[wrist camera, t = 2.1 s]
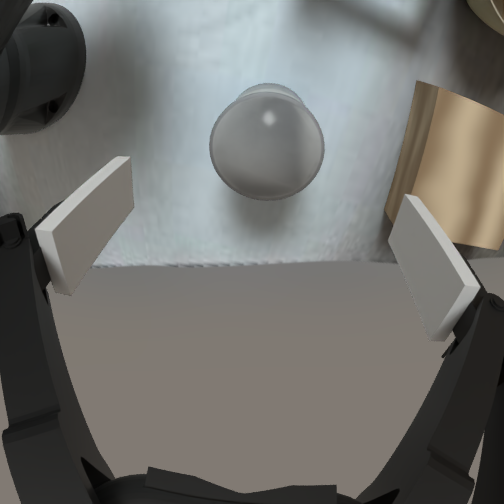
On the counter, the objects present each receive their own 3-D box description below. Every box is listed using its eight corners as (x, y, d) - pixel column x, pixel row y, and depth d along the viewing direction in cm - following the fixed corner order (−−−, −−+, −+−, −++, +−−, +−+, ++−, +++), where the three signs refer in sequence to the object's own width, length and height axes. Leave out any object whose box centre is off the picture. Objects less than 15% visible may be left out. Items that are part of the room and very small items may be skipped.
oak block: (383, 207, 31) (397, 233, 27) (415, 79, 23) (439, 87, 19) (478, 226, 31) (498, 250, 27) (514, 121, 23) (541, 136, 19)
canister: (225, 153, 29) (206, 193, 22) (231, 76, 25) (213, 87, 17) (303, 163, 29) (312, 207, 22) (316, 87, 25) (334, 103, 17)
